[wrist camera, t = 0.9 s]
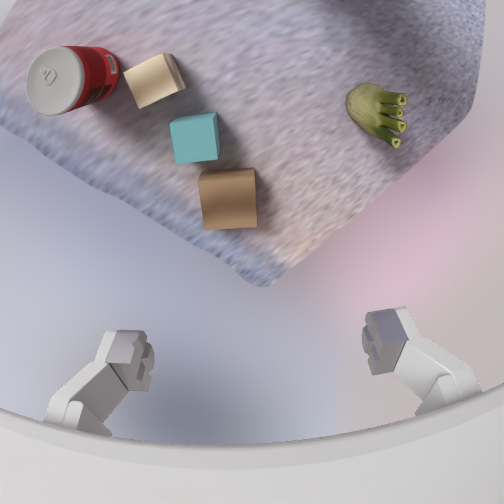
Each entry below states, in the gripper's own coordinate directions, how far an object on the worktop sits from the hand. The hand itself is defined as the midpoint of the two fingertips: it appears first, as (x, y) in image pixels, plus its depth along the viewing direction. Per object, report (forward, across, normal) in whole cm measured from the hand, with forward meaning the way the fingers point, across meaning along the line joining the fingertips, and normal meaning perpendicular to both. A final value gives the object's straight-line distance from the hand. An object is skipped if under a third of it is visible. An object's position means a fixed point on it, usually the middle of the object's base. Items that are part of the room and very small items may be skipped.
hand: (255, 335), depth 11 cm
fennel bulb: (+32, -15, -4) cm, 36 cm away
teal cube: (+32, +6, -1) cm, 33 cm away
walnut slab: (+32, +3, +8) cm, 34 cm away
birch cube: (+32, +10, -9) cm, 35 cm away
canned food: (+32, +19, -12) cm, 39 cm away
